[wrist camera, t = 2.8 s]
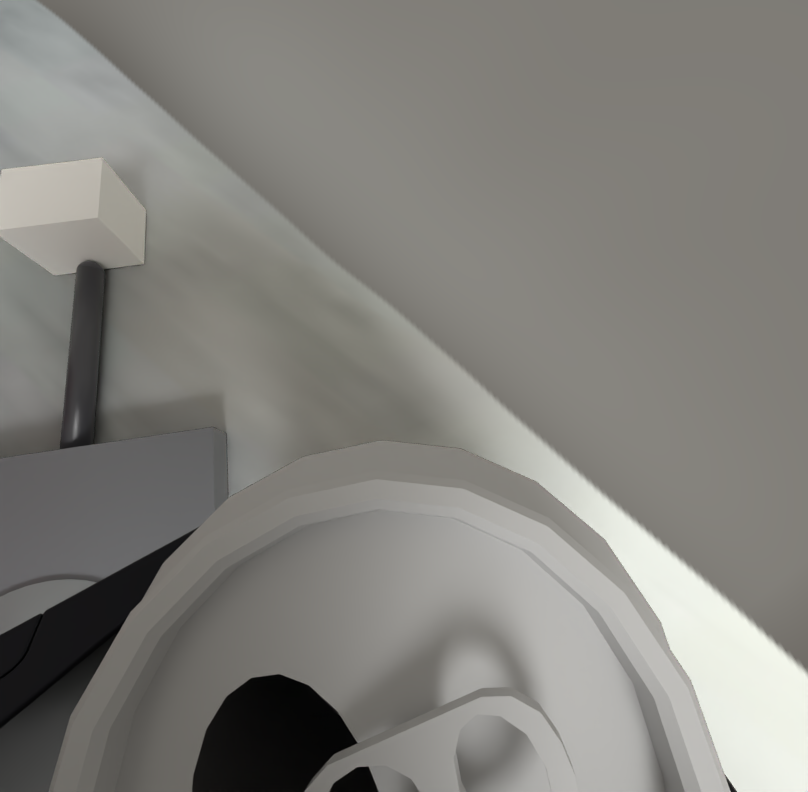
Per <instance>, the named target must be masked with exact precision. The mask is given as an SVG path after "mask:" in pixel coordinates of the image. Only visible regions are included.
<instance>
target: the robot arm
mask: <svg viewBox="0 0 808 792" xmlns="http://www.w3.org/2000/svg"><path fill="white" fill-rule="evenodd" d="M199 527H200V526H199ZM199 527H197V528H196V529H194V530H192V531H190V532H188V533H186V534H185V535H183V536H181V537H179V538H177V539H175V540H174V541H172V542H170V543H168V544H166V545H164V546H163V547H161V548H159V549H157V550H155V551H153V552H152V553H150V554H148V555H146V556H144V557H142V558H141V559H139V560H137V561H135V562H133V563H131V564H130V565H128V566H126V567H124V568H122V569H120V570H119V571H117V572H115V573H113V574H111V575H109V576H108V577H106V578H104V579H102V580H100V581H98V582H97V583H95V584H93V585H91V586H89V587H87V588H86V589H84V590H82V591H80V592H78V593H76V594H75V595H73V596H71V597H69V598H67V599H65V600H64V601H62V602H60V603H58V604H56V605H54V606H53V607H51V608H49V609H47V610H46V611H45V612H44V613H43V614H41V613H40V614H38V615H36V616H34V617H32V618H30V619H28V620H27V621H25V622H23V623H21V624H19V625H17V626H16V627H14V628H12V629H10V630H8V631H6V632H4V633H2V634H0V792H49V788H50V785H51V781H52V778H53V774H54V771H55V767H56V764H57V761H58V757H59V754H60V750H61V747H62V743H63V740H64V736H65V733H66V729H67V726H68V723H69V719H70V716H71V714H72V712H73V711H74V709H75V707H76V705H77V704H78V702H79V700H80V698H81V697H82V695H83V693H84V692H85V690H86V688H87V686H88V685H89V683H90V681H91V679H92V678H93V676H94V674H95V673H96V671H97V669H98V667H99V666H100V664H101V662H102V660H103V659H104V657H105V655H106V653H107V652H108V650H109V648H110V647H111V645H112V643H113V641H114V640H115V638H116V636H117V634H118V633H119V631H120V629H121V627H122V626H123V624H124V622H125V621H126V619H127V617H128V615H129V614H130V612H131V611H132V610H133V609H134V608H135V607H136V606H137V605H138V604H139V603H140V602H141V601H142V599H143V597H144V596H145V594H146V592H147V590H148V589H149V587H150V585H151V583H152V582H153V580H154V578H155V576H156V575H157V573H158V571H159V569H160V568H161V566H162V564H163V563H164V562H165V561H166V560H167V559H168V558H169V557H170V556H171V555H172V554H173V553H174V552H175V551H176V550H177V549H178V548H179V547H180V546H181V545H182V544H183V543H184V542H185V541H186V540H187V539H188V538H189V537H190V536H191V535H192V534H193V533H194V532H195V531H196V530H197V529H198V528H199ZM725 777H726V775H725ZM726 780H727V783H728V786H729V788H730V791H731V792H737V791H736V789H735V788H734V787H733V785H732V784H731V782H730V781H729V779H728V778H727V777H726Z"/></svg>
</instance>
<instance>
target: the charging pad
mask: <svg viewBox="0 0 808 792" xmlns="http://www.w3.org/2000/svg"><path fill="white" fill-rule="evenodd" d="M145 229H146V210H145V208H144V207H143V206H142V205H141V203H140V202H139V201H138V200H137V199H136V197H135V196H134V195H133V194H132V193H131V191H130V190H129V189H128V188H127V186H126V185H125V184H124V183H123V182H122V180H121V179H120V178H119V177H118V176H117V174H116V173H115V172H114V171H113V170H112V168H111V167H110V166H109V165H108V163H107V162H106V161H105V160H104V159H103V157H102V158H94V159H85V160H77V161H69V162H60V163H52V164H43V165H35V166H27V167H18V168H10V169H2V171H1V177H0V237H1V238H2V239H4V240H5V241H6V242H8V243H9V244H11V245H12V246H13V247H15V248H16V249H18V250H19V251H20V252H22V253H23V254H25V255H26V256H27V257H29V258H30V259H32V260H33V261H35V262H36V263H37V264H39V265H40V266H42V267H43V268H44V269H46V270H47V271H49V272H50V273H51V274H53V275H54V276H56V275H63V274H71V273H76V280H75V291H74V301H73V312H72V323H71V334H70V345H69V356H68V367H67V377H66V388H65V399H64V410H63V421H62V432H61V443H60V449H59V450H52V451H45V452H39V453H32V454H25V455H18V456H11V457H4V458H0V634H2V633H4V632H6V631H8V630H10V629H12V628H14V627H16V626H17V625H19V624H21V623H23V622H25V621H27V620H28V619H30V618H32V617H34V616H36V615H38V614H40V613H41V614H43V613H44V612H45V611H46V610H47V609H49V608H51V607H53V606H54V605H56V604H58V603H60V602H62V601H64V600H65V599H67V598H69V597H71V596H73V595H75V594H76V593H78V592H80V591H82V590H84V589H86V588H87V587H89V586H91V585H93V584H95V583H97V582H98V581H100V580H102V579H104V578H106V577H108V576H109V575H111V574H113V573H115V572H117V571H119V570H120V569H122V568H124V567H126V566H128V565H130V564H131V563H133V562H135V561H137V560H139V559H141V558H142V557H144V556H146V555H148V554H150V553H152V552H153V551H155V550H157V549H159V548H161V547H163V546H164V545H166V544H168V543H170V542H172V541H174V540H175V539H177V538H179V537H181V536H183V535H185V534H186V533H188V532H190V531H192V530H194V529H196V528H197V527H199V526H201V525H202V524H203V523H204V522H205V521H206V520H207V519H208V518H209V517H210V516H211V515H212V514H213V513H214V512H215V511H216V510H217V509H218V508H219V507H220V506H221V505H222V504H223V503H224V502H225V501H226V500H227V499H228V477H227V439H226V433H224V432H222V431H220V430H218V429H216V428H214V427H209V428H202V429H195V430H188V431H182V432H175V433H168V434H161V435H154V436H148V437H141V438H134V439H127V440H120V441H113V442H107V443H100V444H93V441H94V426H95V412H96V397H97V382H98V368H99V353H100V339H101V324H102V309H103V295H104V280H105V272H104V270H103V269H110V268H117V267H125V266H133V265H140V264H144V257H145Z"/></svg>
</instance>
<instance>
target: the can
mask: <svg viewBox="0 0 808 792" xmlns="http://www.w3.org/2000/svg"><path fill="white" fill-rule="evenodd" d="M49 792H731V791H730V788H729V786H728V783H727V780H726V777H725V774H724V772H723V769H722V766H721V763H720V760H719V758H718V755H717V752H716V749H715V746H714V744H713V741H712V738H711V735H710V732H709V730H708V727H707V724H706V721H705V718H704V716H703V713H702V710H701V707H700V704H699V702H698V699H697V696H696V693H695V690H694V687H693V685H692V682H691V680H690V678H689V677H688V675H687V674H686V672H685V671H684V669H683V668H682V666H681V665H680V663H679V662H678V660H677V659H676V657H675V656H674V654H673V653H672V651H671V650H670V647H669V644H668V642H667V639H666V636H665V633H664V630H663V627H662V625H661V622H660V620H659V619H658V617H657V616H656V614H655V613H654V611H653V610H652V608H651V607H650V605H649V604H648V602H647V601H646V599H645V598H644V597H643V595H642V594H641V592H640V591H639V589H638V588H637V586H636V585H635V583H634V582H633V580H632V579H631V577H630V576H629V574H628V573H627V571H626V570H625V569H624V567H623V566H622V564H621V563H620V561H619V560H618V558H617V557H616V555H615V554H614V552H613V551H612V549H611V548H610V546H609V545H608V543H607V542H606V540H605V539H604V538H602V537H601V536H600V535H599V534H598V533H597V532H595V531H594V530H593V529H592V528H591V527H589V526H588V525H587V524H586V523H585V522H584V521H582V520H581V519H580V518H579V517H578V516H576V515H575V514H574V513H573V512H572V511H571V510H569V509H568V508H567V507H566V506H565V505H564V504H562V503H561V502H560V501H559V500H558V499H556V498H555V497H554V496H553V495H552V494H551V493H549V492H548V491H547V490H546V489H545V488H543V487H542V486H541V485H540V484H539V483H538V482H536V481H534V480H532V479H529V478H527V477H525V476H522V475H520V474H518V473H516V472H513V471H511V470H509V469H506V468H504V467H502V466H500V465H497V464H495V463H493V462H490V461H488V460H486V459H483V458H481V457H479V456H477V455H474V454H472V453H470V452H467V451H465V450H463V449H460V448H451V447H441V446H432V445H422V444H413V443H403V442H394V441H385V440H380V441H375V442H370V443H366V444H361V445H356V446H351V447H346V448H341V449H337V450H332V451H327V452H322V453H317V454H313V455H308V456H303V457H301V458H299V459H298V460H296V461H294V462H292V463H290V464H288V465H287V466H285V467H283V468H281V469H279V470H278V471H276V472H274V473H272V474H270V475H269V476H267V477H265V478H263V479H261V480H259V481H258V482H256V483H254V484H252V485H250V486H249V487H247V488H245V489H243V490H241V491H240V492H238V493H236V494H234V495H232V496H230V497H229V498H228V499H227V500H226V501H225V502H224V503H223V504H222V505H221V506H220V507H219V508H218V509H217V510H216V511H215V512H214V513H213V514H212V515H211V516H210V517H209V518H208V519H207V520H206V521H205V522H204V523H203V524H202V525H201V526H200V527H199V528H198V529H197V530H196V531H195V532H194V533H193V534H192V535H191V536H190V537H189V538H188V539H187V540H186V541H185V542H184V543H183V544H182V545H181V546H180V547H179V548H178V549H177V550H176V551H175V552H174V553H173V554H172V555H171V556H170V557H169V558H168V559H167V560H166V561H165V562H164V563H163V564H162V566H161V568H160V569H159V571H158V573H157V575H156V576H155V578H154V580H153V582H152V583H151V585H150V587H149V589H148V590H147V592H146V594H145V596H144V597H143V599H142V601H141V602H140V603H139V604H138V605H137V606H136V607H135V608H134V609H133V610H132V611H131V612H130V614H129V615H128V617H127V619H126V621H125V622H124V624H123V626H122V627H121V629H120V631H119V633H118V634H117V636H116V638H115V640H114V641H113V643H112V645H111V647H110V648H109V650H108V652H107V653H106V655H105V657H104V659H103V660H102V662H101V664H100V666H99V667H98V669H97V671H96V673H95V674H94V676H93V678H92V679H91V681H90V683H89V685H88V686H87V688H86V690H85V692H84V693H83V695H82V697H81V698H80V700H79V702H78V704H77V705H76V707H75V709H74V711H73V712H72V714H71V716H70V719H69V723H68V726H67V729H66V733H65V736H64V740H63V743H62V747H61V750H60V754H59V757H58V761H57V764H56V767H55V771H54V774H53V778H52V781H51V785H50V788H49Z"/></svg>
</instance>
